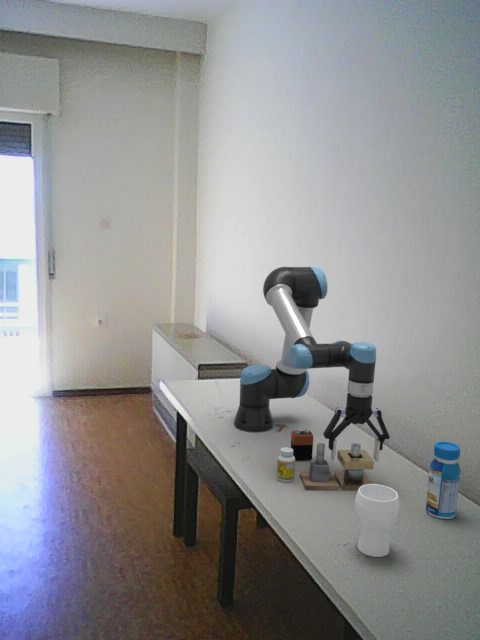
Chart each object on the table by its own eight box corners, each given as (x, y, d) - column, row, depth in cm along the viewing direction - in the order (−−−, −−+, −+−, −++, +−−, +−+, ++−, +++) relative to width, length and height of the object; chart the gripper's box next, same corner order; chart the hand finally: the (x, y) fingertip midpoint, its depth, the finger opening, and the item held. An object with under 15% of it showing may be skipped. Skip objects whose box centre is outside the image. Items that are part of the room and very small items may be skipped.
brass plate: (337, 457, 187) (337, 449, 187) (364, 457, 188) (365, 449, 188) (344, 469, 178) (344, 461, 178) (373, 469, 179) (374, 461, 179)
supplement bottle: (297, 481, 184) (298, 451, 183) (281, 483, 182) (283, 453, 180) (289, 474, 189) (290, 445, 187) (273, 476, 187) (275, 447, 185)
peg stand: (333, 476, 189) (336, 438, 187) (364, 476, 190) (367, 438, 188) (341, 490, 179) (344, 451, 177) (373, 490, 180) (377, 451, 178)
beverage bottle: (452, 523, 162) (460, 454, 158) (421, 514, 166) (428, 446, 163) (459, 511, 169) (466, 444, 165) (429, 502, 173) (435, 437, 170)
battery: (312, 460, 200) (314, 432, 198) (292, 461, 199) (294, 432, 198) (309, 455, 204) (310, 428, 203) (289, 455, 204) (291, 428, 202)
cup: (346, 537, 152) (350, 482, 150) (387, 537, 153) (391, 482, 151) (358, 561, 142) (363, 502, 139) (401, 560, 143) (406, 502, 140)
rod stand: (299, 475, 188) (301, 438, 186) (330, 475, 189) (333, 438, 187) (305, 490, 178) (307, 450, 176) (338, 490, 179) (341, 451, 177)
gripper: (322, 397, 175) (317, 464, 179) (404, 398, 177) (397, 465, 181) (316, 389, 182) (312, 454, 186) (395, 390, 184) (389, 454, 188)
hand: (354, 459), depth 183 cm, fingers open, 13 cm apart
